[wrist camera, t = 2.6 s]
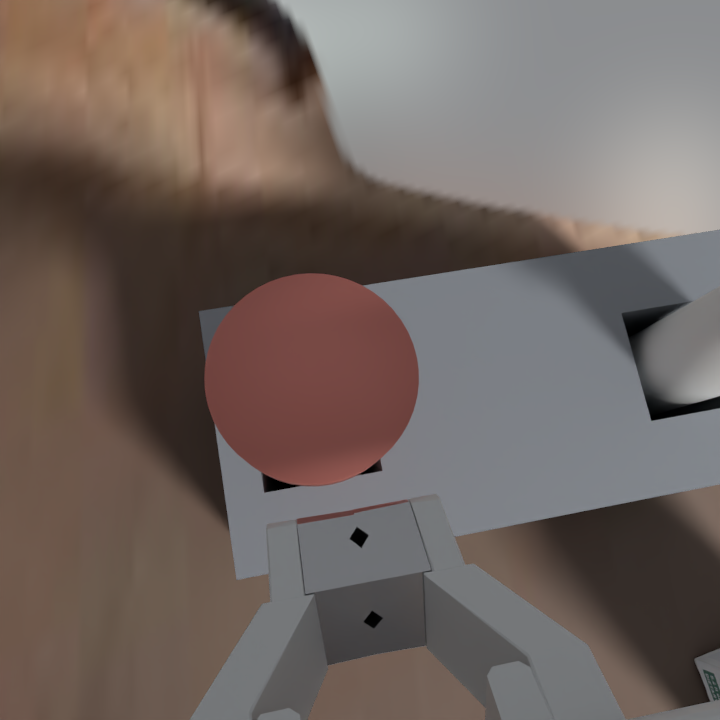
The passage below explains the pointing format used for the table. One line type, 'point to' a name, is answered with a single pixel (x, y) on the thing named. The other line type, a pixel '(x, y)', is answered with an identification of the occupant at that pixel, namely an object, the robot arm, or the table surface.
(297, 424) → the red plug
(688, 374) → the grey bulb-shaped piece
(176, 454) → the table surface
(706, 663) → the syrup box
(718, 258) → the block
